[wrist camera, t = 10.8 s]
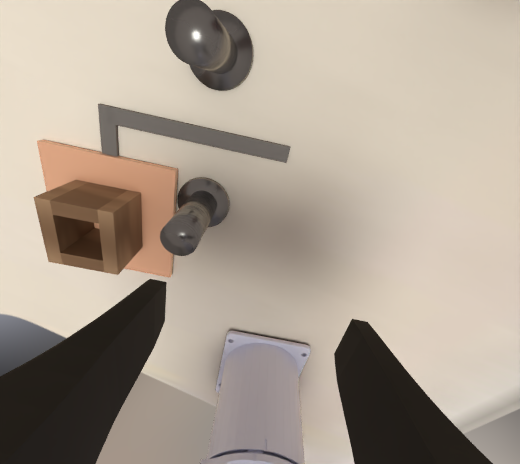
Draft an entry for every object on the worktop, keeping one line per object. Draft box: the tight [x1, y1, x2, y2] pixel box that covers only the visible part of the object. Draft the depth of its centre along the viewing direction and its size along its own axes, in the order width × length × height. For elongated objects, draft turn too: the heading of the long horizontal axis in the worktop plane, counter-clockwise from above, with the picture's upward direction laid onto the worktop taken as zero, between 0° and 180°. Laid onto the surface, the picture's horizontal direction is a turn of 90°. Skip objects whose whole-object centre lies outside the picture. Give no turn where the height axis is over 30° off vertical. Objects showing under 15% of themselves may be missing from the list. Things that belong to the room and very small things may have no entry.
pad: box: [37, 140, 178, 277], centre depth 19 cm, size 9×9×1 cm
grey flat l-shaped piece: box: [98, 104, 290, 163], centre depth 17 cm, size 4×12×1 cm, turn 78°
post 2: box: [160, 177, 229, 256], centre depth 16 cm, size 4×4×6 cm
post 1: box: [165, 0, 253, 90], centre depth 12 cm, size 4×4×6 cm
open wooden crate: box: [34, 180, 143, 275], centre depth 18 cm, size 4×4×4 cm
